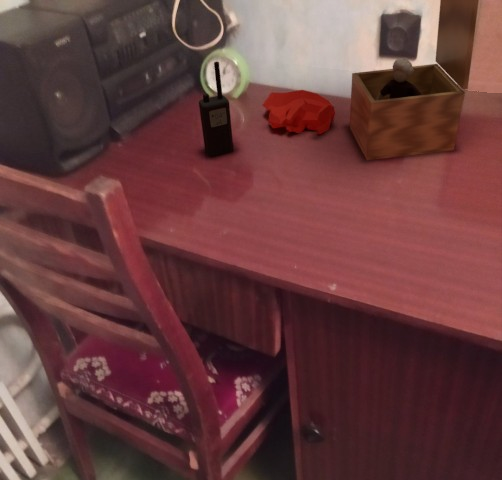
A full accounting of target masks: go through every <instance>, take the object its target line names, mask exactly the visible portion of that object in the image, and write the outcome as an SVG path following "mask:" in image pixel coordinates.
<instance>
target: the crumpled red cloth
mask: <svg viewBox="0 0 502 480" xmlns="http://www.w3.org/2000/svg"><path fill="white" fill-rule="evenodd" d="M262 107H263V108H264V109H266V110H267V111H268V112H269V113H268V120H267V123H268V124H270V126H271V128H272V129H278V128H285V130H286V131H287V132H289V133H293V132H294V133H297V134H300V133H303V131H304V130H305V129H307V130H310V131H317V133H318V135H322V134H323V133H326V132H328V131H329V130H330V126H331V123H332V121H334V119H335V117H336V110H335V107H334V105H333V104H332V103H331V101H330V100H329V99H326V98H325V97H324V96H322V95H320V94H319V93H316V92H312V91H309V90H305V89H300V90H294V91H293V90H292V91H288V92H273V91H271V92H270V94H268V96H267V98H266V99H265V100H264V102H263V103H262Z"/></svg>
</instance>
